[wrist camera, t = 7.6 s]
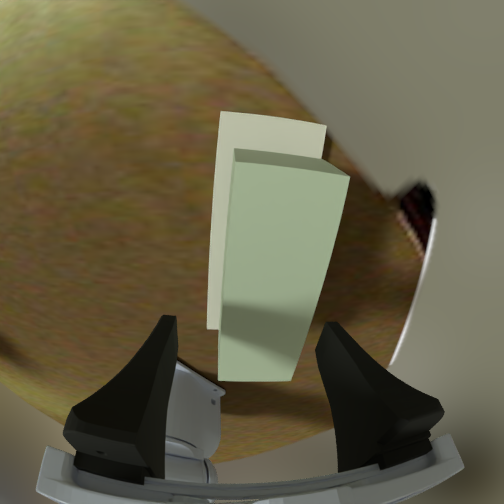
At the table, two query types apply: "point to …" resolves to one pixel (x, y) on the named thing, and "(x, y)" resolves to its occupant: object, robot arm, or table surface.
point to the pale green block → (274, 260)
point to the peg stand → (229, 137)
